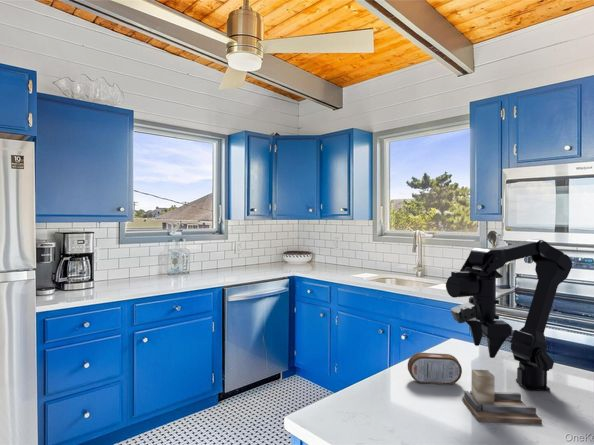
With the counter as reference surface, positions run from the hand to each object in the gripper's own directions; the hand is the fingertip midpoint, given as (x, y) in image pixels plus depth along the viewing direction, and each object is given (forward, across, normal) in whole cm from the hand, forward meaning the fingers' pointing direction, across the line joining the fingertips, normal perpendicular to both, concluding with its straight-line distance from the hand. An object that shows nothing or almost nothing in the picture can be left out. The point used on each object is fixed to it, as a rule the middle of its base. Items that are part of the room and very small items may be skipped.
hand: (484, 351), depth 106 cm
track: (+12, +10, -1) cm, 15 cm away
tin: (+12, -6, -12) cm, 18 cm away
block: (+10, +8, -4) cm, 14 cm away
